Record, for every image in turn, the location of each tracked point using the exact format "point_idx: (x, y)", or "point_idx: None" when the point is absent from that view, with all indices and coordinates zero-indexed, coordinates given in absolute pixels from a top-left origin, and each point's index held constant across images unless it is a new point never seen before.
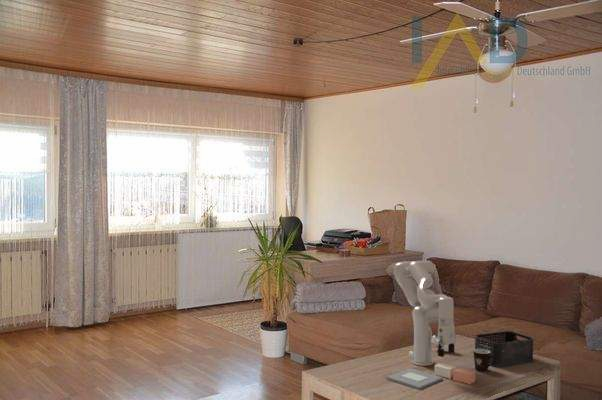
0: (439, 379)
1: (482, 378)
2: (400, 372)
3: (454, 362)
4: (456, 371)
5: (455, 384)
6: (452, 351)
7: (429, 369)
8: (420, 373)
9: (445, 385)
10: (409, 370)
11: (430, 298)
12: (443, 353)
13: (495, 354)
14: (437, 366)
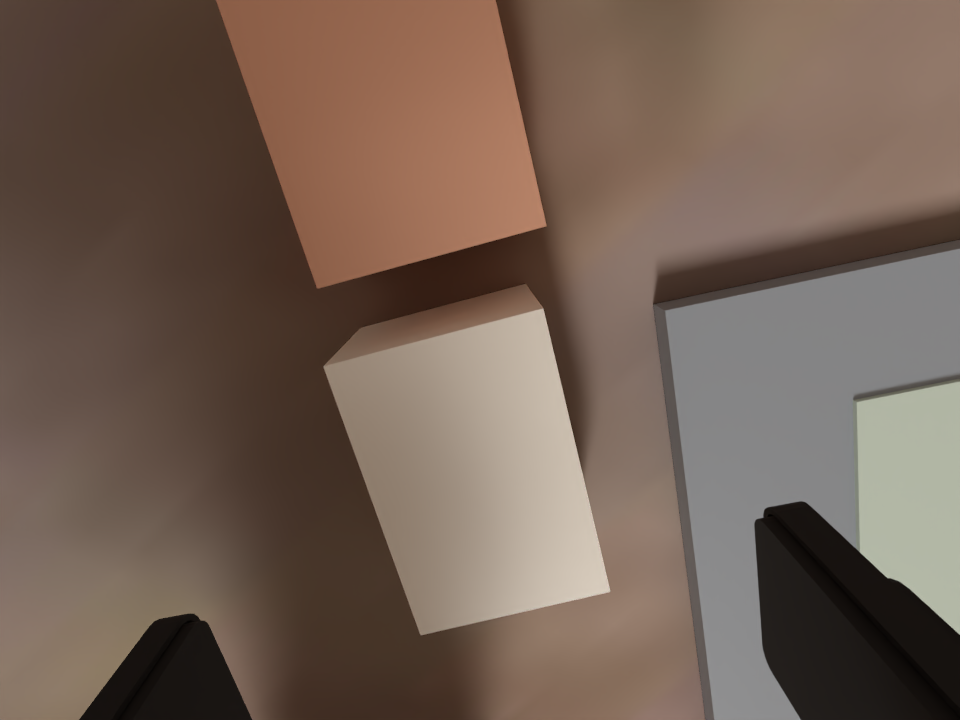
0: (745, 291)
1: (49, 12)
2: None
3: (12, 693)
4: (529, 150)
5: (654, 47)
6: (191, 678)
7: (486, 657)
8: None
9: (815, 101)
10: None
11: None
12: (871, 571)
13: None
14: (597, 539)
